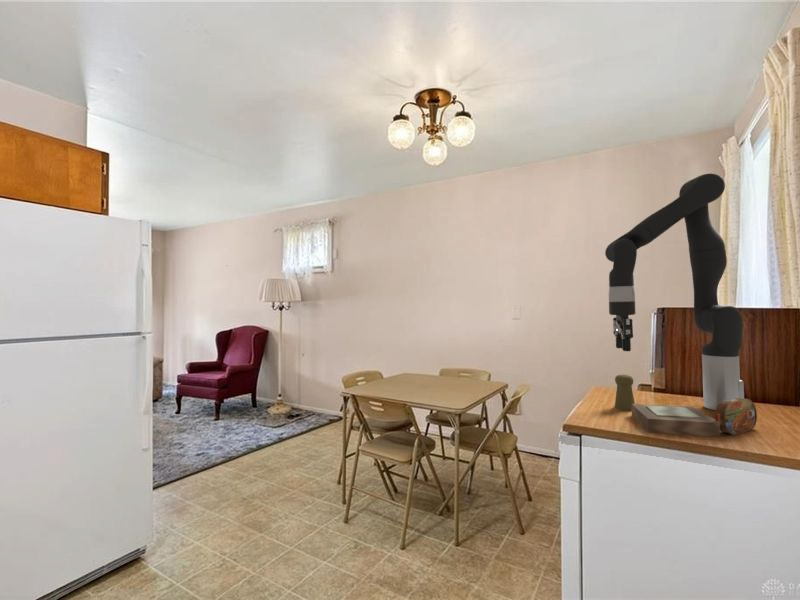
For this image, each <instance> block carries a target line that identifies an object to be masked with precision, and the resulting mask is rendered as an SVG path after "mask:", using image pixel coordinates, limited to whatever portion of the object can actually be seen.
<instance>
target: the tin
mask: <svg viewBox="0 0 800 600" xmlns="http://www.w3.org/2000/svg"><path fill="white" fill-rule="evenodd" d="M757 411H758V410H757V408H756V405H755V403H754V402H753V401H752V400H751V399H749V398H744V399H742V398H735V399H731V400H727V401H723V402H720V403H719V404H718V405H717V407H716V410H714V414H715V420H716V421H718V422H719V423H720V433H721V432H722V433H724V434H729V435H732V436H737V435H740V434H743V433H746V432H749V431H752V430H754V429H755V426H756V425H757V418H758V413H757Z"/></svg>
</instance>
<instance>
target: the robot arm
mask: <svg viewBox="0 0 800 600" xmlns="http://www.w3.org/2000/svg"><path fill="white" fill-rule="evenodd" d="M725 188H726V183H725V180H724V178H723V177H722V176H721V175H719V174H716V173H705V174H702V175H701V174H700V175H698V176H696V177H694V178H692V179H690V180H688V181H686V182H684V184H683V185H682V186H681V187H680V189H679V193H678V196H679V197H677V198H675V199H674V200H673V201H671V202H670V203H668V204H667V205H665V206H663V207H661V208H660V209H659V210H658V209H657V211H655V212H653V213H652V214H650V215H649V216H647V217H645V218H644V219H643V220H642V221H640V222H639V223H638V224H636V225H635V226H634V227H633V228H631V229H630V230H629V231H628V232H626V233H624V234H623V235H621V236H620V237H618V238H617V239H615V240H613V241H612V242H611V243H609V244H608V245H607V247H606V249H605V251H604V252H605V253H604V254H605V258H606V259H607V260H608V261H610V262H611V263H612V269H611V270H610V271H609V274H608V281H609V283H608V287H609V288H608V314H609V315H610V316H615V317H613V319H612V321H613V323H612V324H613V326H612V327H613V335H614V337H615V347H616V349H622V351H623V352H631V350H632V345H631V344H632V343H631V340H632V338H634V332H633V331H634V330H633V329H634V328H633V319H632V318H630V317H629V316H633V315H635V314H636V293H635V284H634V283H635V282H634V271H635V267H636V261H637V255H638V253H637V252H638V251H637V250H639V249H640V248H642V247H644V246H647V245H648V244H650V243H651V242H653V241H654V240H655V239H657V238H658V237H660V236H661V235H662V234H664V233H665V232H666V231H668V230H670V229H671V227H673V226H674V225H676V224H677V223H679V222H680V221H681V220H683V219H684V223H685V228H686V236H687V237H686V238H687V242H688V254H689V261H690V267H691V272H692V274H691V275H692V284H693V286H692V287H693V318H694V323H695V325H696V327H697V329H698V330H700V331H701V332H703V333H707V334H712V339H711V341H710V342H709V343H706V344H704V345H702V346H701V363H702V364H701V365H702V366H701V367H702V389H703V391H702V393H703V396H702V397H703V398H702V399H703V400H702V401H703V407H704V408H706V409H708V410H712V411H715V410H716V407H717V405H718V404H719V403H720V402H723V401H727V400H731V399H735V398H742V399H745V390H744V389H745V388H744V381H743V380H742V379H741V375H740V374H741V373H740V370H741V369H740V350H741V349H742V346H743V345H742V344H743V325H744V323H743V316H742V314H741V312H740V310H739V309H738V308H737V307H735V306H733V305H727V304H723V305H721V304H720V305H719V303H718V286H719V284H720V282H721V279H722V277H723V275H724V273H725V271H726V268H727V263H728V259H727V253H726V252H727V251H726V245H725V241H724V239H723V238H722V236H721V234H720V233H719V232H718V230H717V229H716V228H715V226H714V225H713V223H712V221H711V217H710V211H709V210H710V209H709V204H710V203H713V202H714V201H717V200H718V199H719V198H720V197H721V196H722V195H723V194H724V191H725Z"/></svg>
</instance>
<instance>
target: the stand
mask: <svg viewBox="0 0 800 600" xmlns="http://www.w3.org/2000/svg"><path fill="white" fill-rule="evenodd" d="M631 415H632V417H633V418H634V419H635V420H636V421H637V422H638V423H639V424H640V425H641V426H642V427H643V429H645V430H646V431H647V432H648V433H656V434H669V433H670V434H671V435H683V436H686V435H687V436H701V437H702V436H703V437H714V438H715V437H717V438H721V431H720V423H719V422H718V421H716V419H714V418H713V417H711V416H709V415H707V414H706V413H704V412H702V411H701V410H700V409H698V408H696V407H694V406H691V405H690V406H688V405H687V406H686V405H668V404H667V405H666V404H665V405H664V404H645V403H643V404H642V403H635V404H632V411H631Z"/></svg>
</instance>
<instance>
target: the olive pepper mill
mask: <svg viewBox="0 0 800 600" xmlns="http://www.w3.org/2000/svg"><path fill="white" fill-rule="evenodd" d="M614 381H615V384H616V392H615V393H616V394H615V401H614V409H615V410H618V411H621V412H623V411H625V412H632V404H636V402H635V398H634V397H635V396H634V392H633V388H632V386H633V384H634V378H633V377H632V376H631V375H628V374H618V375H616V376H615V378H614Z"/></svg>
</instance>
